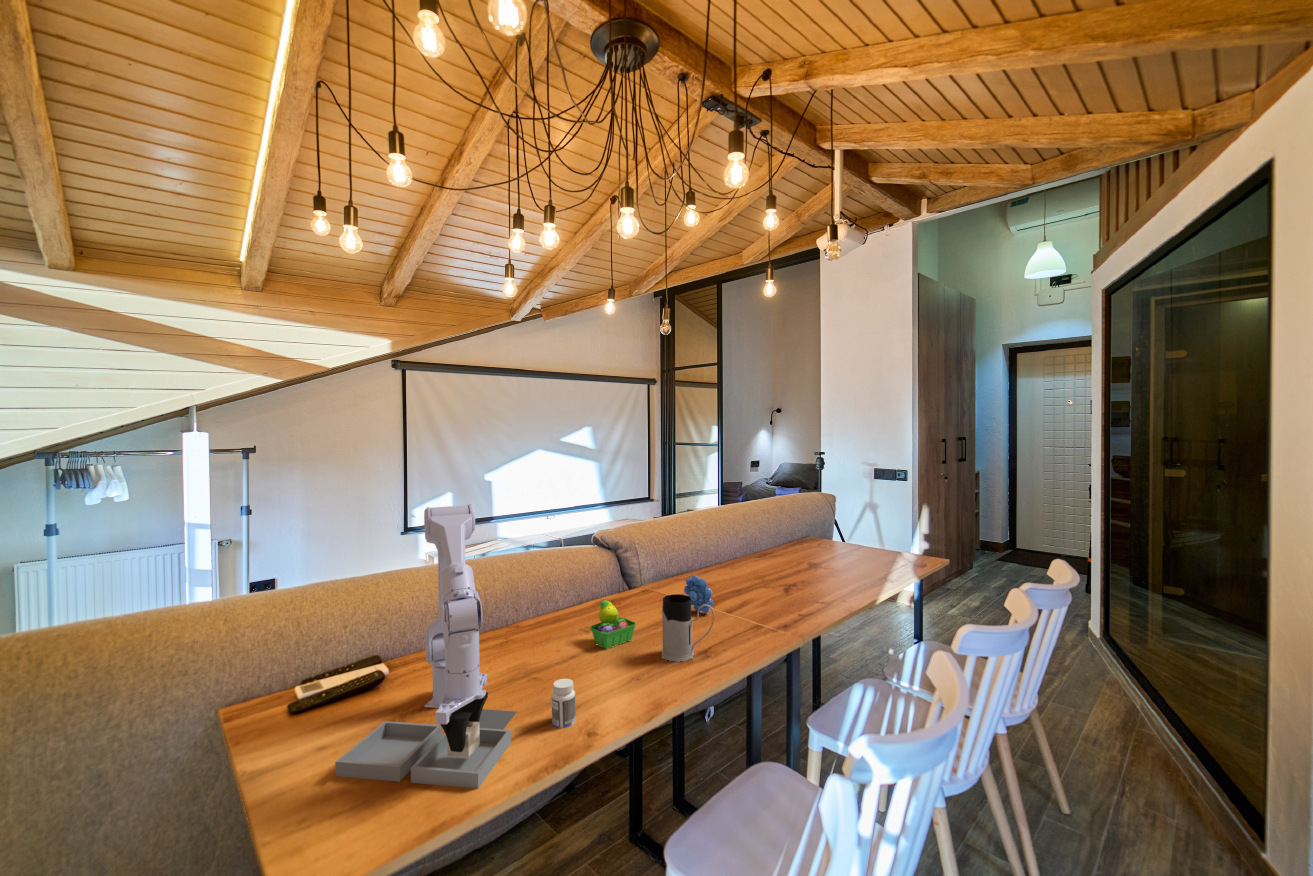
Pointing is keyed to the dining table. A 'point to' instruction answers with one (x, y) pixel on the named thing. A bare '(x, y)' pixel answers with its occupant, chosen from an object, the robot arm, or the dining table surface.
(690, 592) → the grapes
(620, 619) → the fruit basket
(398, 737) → the tray
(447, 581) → the robot arm
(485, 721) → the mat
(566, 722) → the pill bottle
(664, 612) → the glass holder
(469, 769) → the tray
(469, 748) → the letter cube
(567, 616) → the dining table surface
